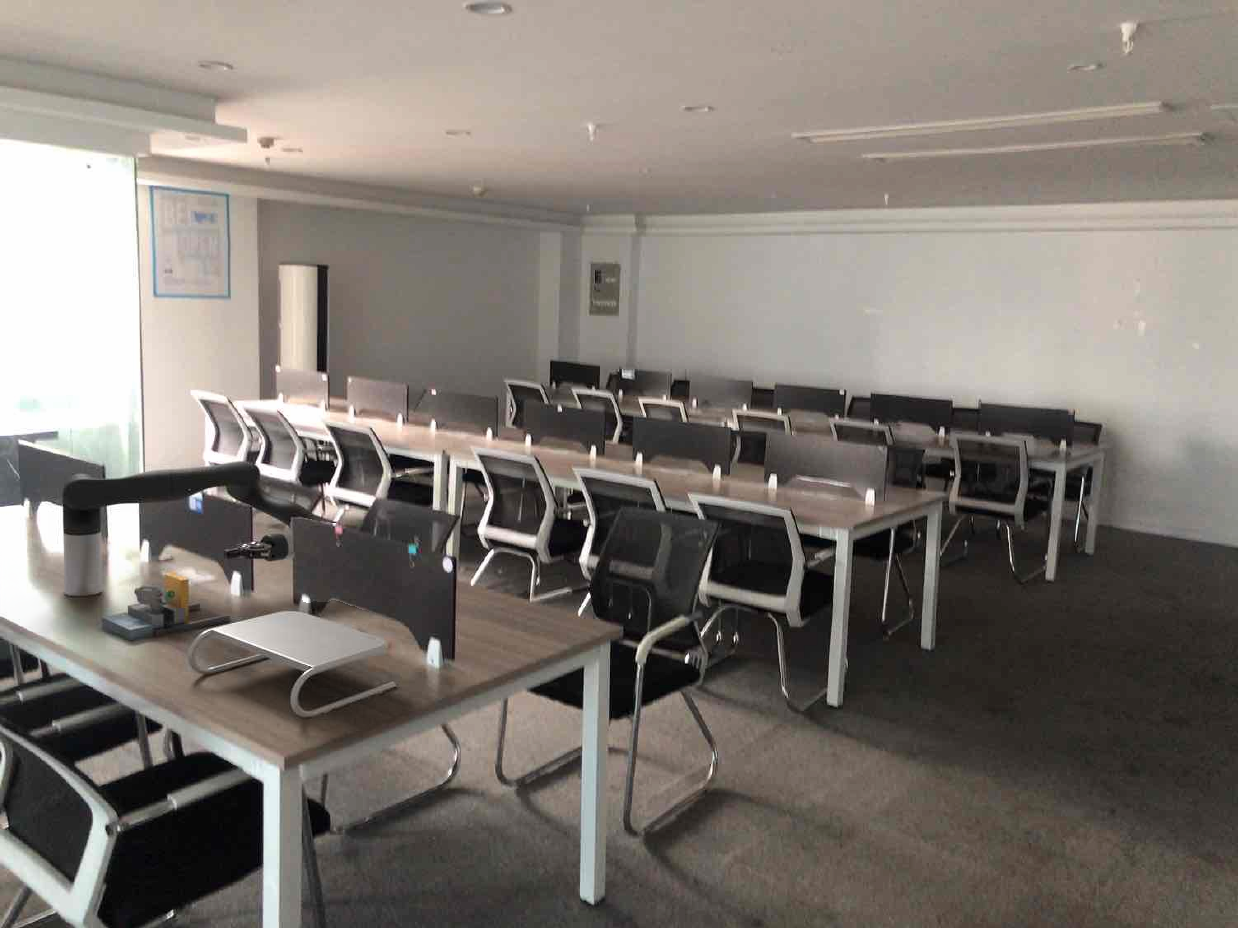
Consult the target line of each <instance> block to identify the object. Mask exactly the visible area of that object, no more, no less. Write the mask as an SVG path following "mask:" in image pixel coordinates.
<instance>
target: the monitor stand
mask: <svg viewBox="0 0 1238 928" xmlns="http://www.w3.org/2000/svg"><path fill="white" fill-rule="evenodd" d="M210 636H213V637H214V638H215V639H218V640H220V641H223V642H226V643H229V644H232V645H233V646H237V647H240V648H242V649H244V650H247V651H250V652H252V653H254V654H256V655H252V656H248V657H244V658H242V659H238V660H234V661H230V662H227V663H224V664H220V665H217V666H213V667H209V668H202V667H200V665H198V663H197V661H196V658H195V656H196V651H197V649H198V648H199V645H200V644H201V643H202V642H203V641H204V640H205V639H206V638H208V637H210ZM388 649H389V642H388V641H387V640H385V639H384V638H382V637H379V636H376V635H373V634H370V633H367V632H364V631H361V630H358V629H354V628H352V627H349V626H345V625H343V624H340V623H337V622H333V621H331V620H327V619H325V618H322V617H319V616H316V615H312V614H309V613H306V612H303V611H297V610H296V611H295V610H287V611H286V610H284V611H277V612H273V613H269V614H265V615H261V616H258V617H252V618H249V619H245V620H241V621H237V622H233V623H228V624H224V625H220V626H216V627H212V628H210V629H207V630H205V631H203V632H201V633H200V634H199V635H198V636H197V637H195V639H194V640H193V641H192V642H191V645H190V646H189V649H188V652H187V661H188V665H189V666H190V668H191V669H192V670H193V671H194V672H195V673H197V674H199V675H204V676H205V675H206V676H207V675H213V674H216V672H217V673H219V671H220V672H225V671H224V670H226V671H228V670H230V669H229V668H231V669H233V668H232V667H234V668H236V667H235V666H238V667H241V666H244V665H243V664H245V665H248V664H251V663H250V662H252V663H254V662H253V661H255V662H259V661H262V660H265V658H266V659H271V660H273V661H276V662H278V663H281V664H284V665H287V666H289V667H292V668H294V669H296V670H300V671H303V672H304V673H302V674H301V675H300V676H299V677H298V678H297V680H296V681H295V683H294V685H293V687H292V689H291V692H290V706H291V708H292V710H293V711H294V713H295V714H297V716H300V717H302V718H306V717H309V718H314V717H317V716H320V715H322V714H321V713H323V714H326V713H327V714H328V713H329V711H330V710H331V711H333V710H332V709H334V708H337V709H339V707H340V708H342V707H344V705H345V706H347V705H346V704H348V703H351V704H353V703H356V702H358V701H357V700H359V701H361V700H360V699H362V700H364V698H365V699H367V698H369V696H370V697H372V696H371V695H373V696H375V695H374V694H376V695H379V693H380V694H382V693H384V692H386V691H385V690H387V689H390V690H392V689H394V688H393V687H395V688H396V687H397V683H396V682H395V681H391V682H388V683H386V684H383V685H380V686H377V687H374V688H371V689H369V690H366V691H363V692H360V693H357V694H354V695H351V696H348V697H345V698H342V699H340V700H337V701H335V702H332V703H329V704H325V705H323V706H321V707H317V708H314V709H312V710H304V709H303V708H302V707H301V706H300V703H299V700H298V699H299V693H300V691H301V689H302V686H303V685H304V683H305V682H306V681H307V680H308V679H309V678H310V677H312V676H314V675H316V674H320V673H324V672H326V671H329V670H332V669H335V668H339V667H342V666H344V665H345V666H346V665H348V664H351V663H355V662H358V661H361V660H363V659H367V658H370V657H373V656H376V655H379V654H380V655H381V654H382V653H384V652H386V651H387V650H388ZM258 660H259V661H258ZM247 663H248V664H247ZM240 665H241V666H240ZM310 667H311V668H310ZM227 669H228V670H227ZM391 688H392V689H391ZM383 691H384V692H383ZM387 691H388V690H387ZM366 697H367V698H366ZM355 701H356V702H355ZM352 702H353V703H352ZM348 705H349V704H348ZM341 706H342V707H341ZM334 710H335V709H334ZM331 711H330V712H331ZM319 714H320V715H319ZM316 715H317V716H316ZM313 716H314V717H313Z"/></svg>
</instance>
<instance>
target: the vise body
mask: <svg viewBox="0 0 1238 928" xmlns="http://www.w3.org/2000/svg"><path fill="white" fill-rule="evenodd" d="M200 609H201V603H200V602H195V603H194V602H193V603H189V612H192V611H197V610H200ZM226 622H227V623H228V622H231V615H230V614H222V615H219V616H213V617H209V618H204V619H199V620H194V621H190V622H189V623H185V624H180V625H176V626H171V627H165V626H164V614H163V613H160V612H158V611H156V610H153V609H151V608H150V606H146V605H145V604H140V603H134V604H130V605H127V612H126V611H125V612H121V613H116V614H111V615H106V616H105V615H104V616H101V629H102V630H104V631H106V632H108V633H110V634H113V635H114V636H117V637H119V638H120V639H123V640H125V641H127V642H130V643H131V642H135V641H140V640H141V641H142V640H145V639H150V638H158V637H164V636H168V634H169V635H172V634H177V633H181V632H185V631H186V632H187V631H190V630H195V629H196V630H197V629H200V628H203V627H204V628H205V627H209V626H213V624H214V625H217V624H218V625H219V624H223V623H226Z"/></svg>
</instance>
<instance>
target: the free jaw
mask: <svg viewBox="0 0 1238 928" xmlns="http://www.w3.org/2000/svg"><path fill="white" fill-rule="evenodd" d="M189 588H190V587H189V578H186V577H184V576H181V575H179V574H177V573H174V572H170V573H169V572H167V573H164V592H165V591H166V590H172V591H174V596H173V597H174V599H173V601H172V602H170V603H168V604H167V605H165V606H161V607H162V609H161V610H160V612H161V613H163V614H164V627H165V628H167V627H171V626H176V625H180V624H185V623H190V622H189V620H190V619H189V617H190V616H189V615H190V613H189V612H190V611H189V604H190V603H189V594H190V593H189V591H190V590H189ZM162 600H164V599H162ZM149 608H151V605H149Z"/></svg>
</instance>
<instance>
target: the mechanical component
mask: <svg viewBox="0 0 1238 928" xmlns="http://www.w3.org/2000/svg"><path fill="white" fill-rule="evenodd" d="M134 594H135V596H136V600H137V602H138V604H142V605H147V606H148V605H149V606H150V605H151V609H153V610H156V611H158V612H160V610H161V609H162V607H161V606H165V605H167V604H168V603H170V602H172V601H173V599H174V597H173V596H174V591H172V590H166V591H165V590H164V591H163V590H161V587H159V586H148V585H147V586H146V585H145V586H144V585H141V586H139V587H138V588H135V589H134ZM162 599H163V600H162ZM160 613H161V612H160Z"/></svg>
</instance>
